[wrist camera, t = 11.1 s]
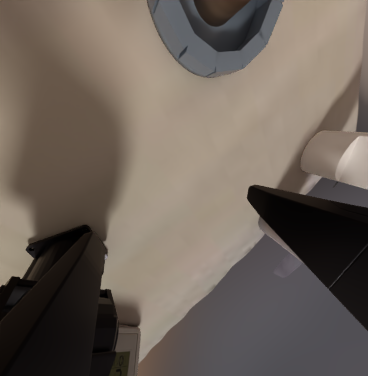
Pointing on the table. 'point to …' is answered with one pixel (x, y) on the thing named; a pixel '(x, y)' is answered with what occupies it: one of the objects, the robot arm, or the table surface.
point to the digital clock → (126, 352)
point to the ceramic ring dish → (214, 35)
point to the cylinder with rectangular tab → (338, 157)
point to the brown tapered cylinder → (218, 10)
